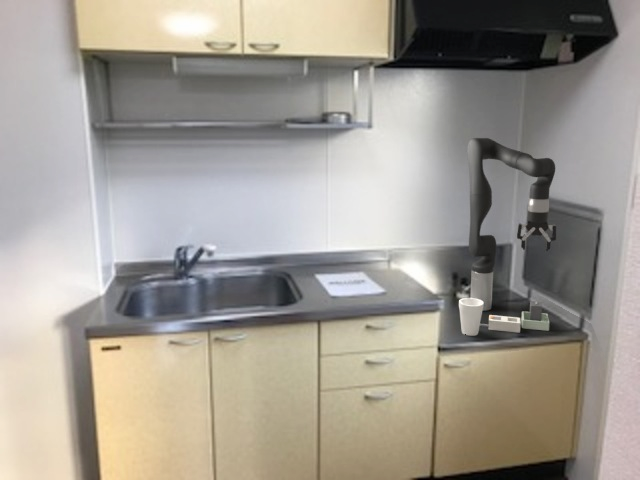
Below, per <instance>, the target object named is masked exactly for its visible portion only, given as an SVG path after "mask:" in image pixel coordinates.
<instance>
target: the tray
mask: <svg viewBox="0 0 640 480" xmlns="http://www.w3.org/2000/svg"><path fill="white" fill-rule="evenodd" d="M529 314H530V311H521V317H520V322H521V328H522V329H526V330H538V331H539V330H540V331H546V332H547V331H548V332H549V331H550V319H549V314H548V313H545V312H544V313H543V312H542V317H541V321H533V320H530V319H529Z"/></svg>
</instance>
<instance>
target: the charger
mask: <svg viewBox="0 0 640 480" xmlns="http://www.w3.org/2000/svg"><path fill="white" fill-rule="evenodd" d="M529 303H530V304H529V312H530V314H529V319H530V320H533V321H541V317H542V313H543V302H542V301H534V300H533V301H532V300H530V302H529Z"/></svg>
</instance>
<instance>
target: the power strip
mask: <svg viewBox="0 0 640 480" xmlns="http://www.w3.org/2000/svg"><path fill="white" fill-rule="evenodd" d="M521 325H522V322H521V317H517V316H506V315H504V316H503V315H496V314H495V315H494V314H493V315H492V314H489V316H488V324H487V323H486V324H485V323H480V326H479V327H483V328H487V329H488V330H490V331H498V332H500V331H501V332H508V333H517V334H519V333H521Z"/></svg>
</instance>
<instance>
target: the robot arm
mask: <svg viewBox="0 0 640 480" xmlns="http://www.w3.org/2000/svg"><path fill="white" fill-rule="evenodd" d="M466 150H467V151H466V152H467V163H468V172H469V173H468V174H469V175H468V176H469V216H470V217H469V218H470V219H469V236H468V250H469V254H470V255H471V257H474V258H475V257H477V258H478V257H481V258H480V259H479V260H476V261H475V262H473V263H472V265H471V274H470V276H471V277H470V279H471V280H470V297H469V298H475V299H479V300H482V301H483V302H484V304H483V310H482V312H483V311H489V310H491V309H492V301H493V283H494V282H493V281H494V269H495V264H496V257H497V255H496V254H497V240H496V238H495V236H494V235H492V234H483V235H482V234H481V228H482V225H483V222H484V220H485V219H486V217H487V215H488V214H489V211H490V210H491V209H492V208H491V207H492V204H493V201H492V200H493V195H492V194H493V191H492V187H491V185H490V183H489V180H488V179H487V177H486V175H485V172H484V162H483V161H484V160H496V161H497V160H498V161H500V162H502V163H504V164H505V165H506V166H508V167H510V168H512V169H515V170H518V171H521V172H522V173H525V174H526V175H527V176H529V177H532V178H537V179H536V181H535V182H533V183H532V184H530V187H529V199H528V205H527V217H526V218H527V219H526V222H525V223H521V222H519V223H518V225H517V226H518V227H517V232H516V238H517V240H521V244H520V245H521V249H522V250H526V239H527V238H529V236H530V235H531V236H539V237H541V236H543V237H544V238H545V240H546V242H545V244H546V245H545V251H546V252H548V251H549V250H550V249H551V242H553V241H557V226H556V224H554V223H553V224H548V223H549V212H550V211H549V210H550V201H549V200H550V189H551V185H552V182H553V180H554V177H555V173H556V164H555V161H554V160H553V159H551V158H550V157H544V158H543V157H541V158H534V157H533V156H532V155H531V154H529V153H527V152H523V151H520V150H518V149H517V150H516V149H514V148H511V147H507V146H504V145H502V144H501V143H499V142H497V141H495V140H493V139H491V138H490V137H489V138H488V137H474V138H471V140H469V141H468V143H467V148H466ZM524 228H526V230H527V231H526V232H525V233H524V234H523V235H521V234H522V230H524ZM549 229H550V231H551V237H550V236H549V235H548V233H547V230H549Z"/></svg>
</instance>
